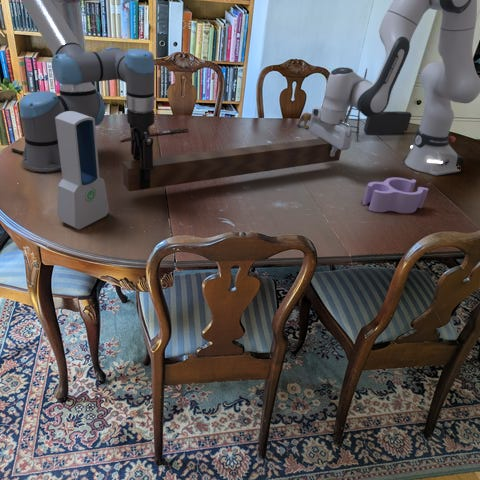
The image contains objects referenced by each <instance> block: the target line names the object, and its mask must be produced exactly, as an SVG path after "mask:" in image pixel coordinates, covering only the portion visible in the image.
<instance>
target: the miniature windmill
mask: <svg viewBox="0 0 480 480" xmlns="http://www.w3.org/2000/svg"><path fill="white" fill-rule="evenodd" d="M367 74H368V68H366V69H365V72H364V76H363V78H364V79H366V80H367ZM352 110H355V111H358V113H357V115H356V114H355V115H354V114H351V112H352ZM360 116H361V112H360V111H359V110H358V109H357V108H355V107H354V106H349V108H348V110H347V114H346V119H345V122H346V123H348V120H350V121H357V123H356V124H357V125H356V126H354V125H350V127H351V128H355V129H356V131H353V130H352V133H354V134H356V142H358V141H359V134H360V122H361V117H360ZM350 117H356V118H357V119H355V118H350Z"/></svg>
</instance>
